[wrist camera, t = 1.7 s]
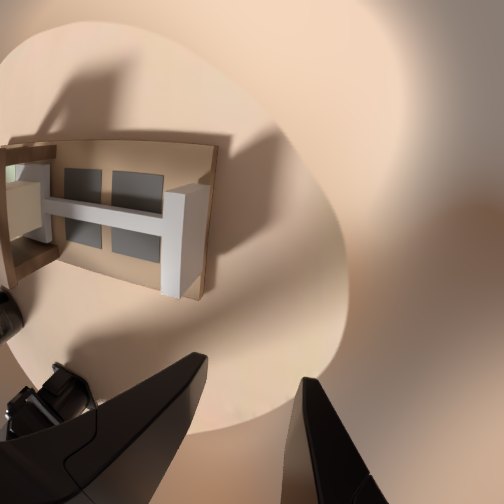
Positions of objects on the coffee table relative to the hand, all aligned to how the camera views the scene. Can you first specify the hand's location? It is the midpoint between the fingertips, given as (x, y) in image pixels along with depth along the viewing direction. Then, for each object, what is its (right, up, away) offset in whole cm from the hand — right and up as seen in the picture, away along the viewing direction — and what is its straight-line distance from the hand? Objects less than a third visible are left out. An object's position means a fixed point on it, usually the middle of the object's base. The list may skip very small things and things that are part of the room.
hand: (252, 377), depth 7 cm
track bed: (-15, +8, +14) cm, 22 cm away
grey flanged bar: (-13, +7, +13) cm, 19 cm away
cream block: (-20, +8, +13) cm, 25 cm away
